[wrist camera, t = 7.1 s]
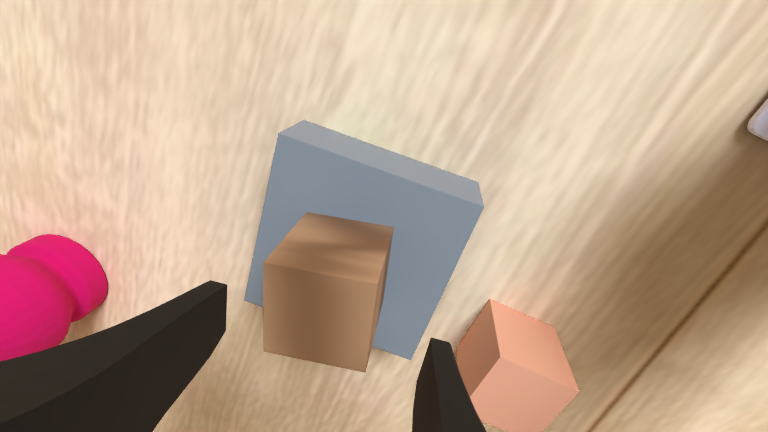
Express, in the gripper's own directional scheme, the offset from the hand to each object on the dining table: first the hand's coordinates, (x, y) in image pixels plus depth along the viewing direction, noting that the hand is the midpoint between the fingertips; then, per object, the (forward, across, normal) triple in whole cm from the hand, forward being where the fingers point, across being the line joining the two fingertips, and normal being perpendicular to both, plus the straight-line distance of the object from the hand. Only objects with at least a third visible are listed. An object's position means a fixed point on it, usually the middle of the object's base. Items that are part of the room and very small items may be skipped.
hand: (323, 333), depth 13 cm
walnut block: (+7, +1, +1) cm, 7 cm away
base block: (+11, 0, +1) cm, 11 cm away
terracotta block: (+10, -10, +6) cm, 16 cm away
